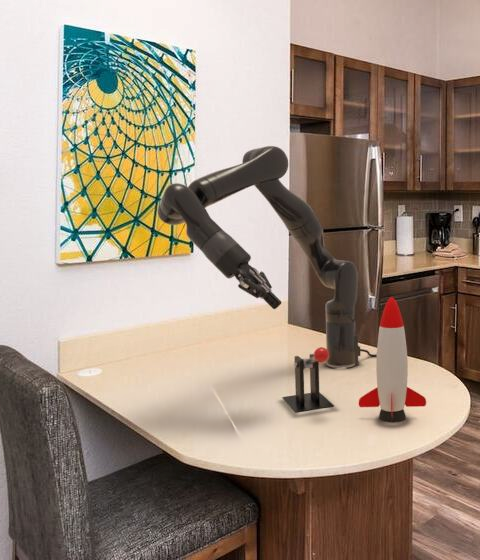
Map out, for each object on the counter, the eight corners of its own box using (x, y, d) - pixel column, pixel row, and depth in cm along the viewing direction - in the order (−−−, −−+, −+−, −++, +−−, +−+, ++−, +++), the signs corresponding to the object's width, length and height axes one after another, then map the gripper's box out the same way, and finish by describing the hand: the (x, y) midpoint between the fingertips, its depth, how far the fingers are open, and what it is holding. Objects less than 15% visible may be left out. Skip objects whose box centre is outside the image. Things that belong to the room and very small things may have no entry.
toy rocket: (358, 425, 146) (357, 298, 148) (392, 419, 154) (390, 299, 156) (393, 430, 138) (392, 296, 140) (426, 424, 146) (424, 297, 148)
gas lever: (332, 360, 144) (329, 345, 145) (317, 362, 142) (315, 346, 143) (313, 371, 158) (310, 357, 159) (299, 372, 157) (297, 358, 157)
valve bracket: (334, 410, 155) (333, 360, 153) (295, 416, 151) (294, 365, 149) (318, 395, 166) (317, 349, 164) (282, 401, 161) (280, 353, 160)
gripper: (225, 245, 137) (280, 300, 137) (246, 240, 150) (296, 290, 150) (204, 268, 139) (258, 323, 139) (226, 261, 152) (276, 311, 152)
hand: (278, 306), depth 145 cm, fingers closed
